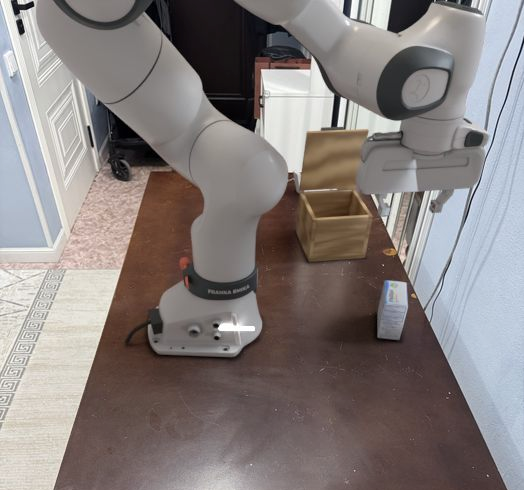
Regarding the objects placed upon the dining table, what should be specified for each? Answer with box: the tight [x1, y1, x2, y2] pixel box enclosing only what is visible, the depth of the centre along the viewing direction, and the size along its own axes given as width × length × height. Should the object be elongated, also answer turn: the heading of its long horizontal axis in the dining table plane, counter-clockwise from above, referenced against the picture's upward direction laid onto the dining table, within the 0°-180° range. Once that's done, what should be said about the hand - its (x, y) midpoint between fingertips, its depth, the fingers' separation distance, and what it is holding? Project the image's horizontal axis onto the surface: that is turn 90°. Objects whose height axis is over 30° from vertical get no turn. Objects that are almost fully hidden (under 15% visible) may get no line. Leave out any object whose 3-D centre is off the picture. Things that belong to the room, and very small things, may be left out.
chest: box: [296, 188, 374, 263], centre depth 118 cm, size 14×14×11 cm
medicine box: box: [376, 280, 409, 341], centre depth 96 cm, size 8×4×9 cm, turn 170°
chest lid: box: [299, 126, 370, 191], centre depth 114 cm, size 15×14×5 cm
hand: (408, 213), depth 85 cm, fingers open, 8 cm apart
